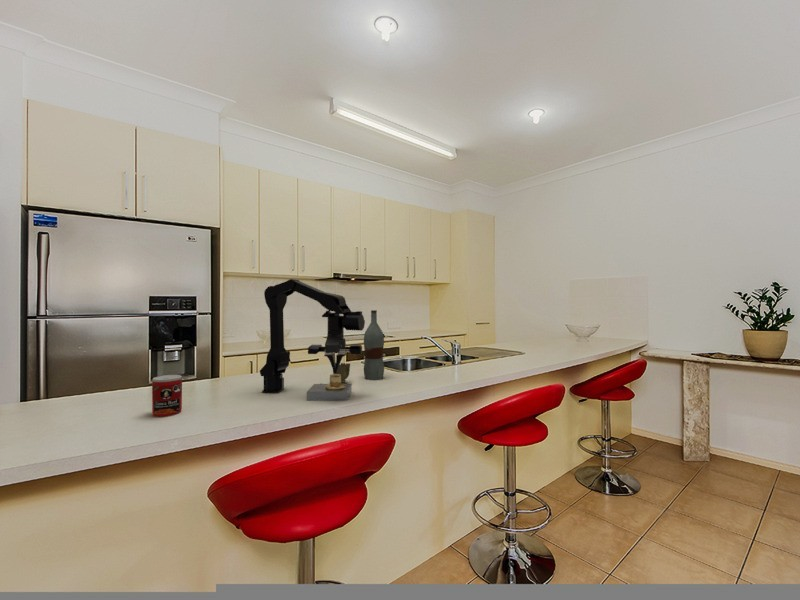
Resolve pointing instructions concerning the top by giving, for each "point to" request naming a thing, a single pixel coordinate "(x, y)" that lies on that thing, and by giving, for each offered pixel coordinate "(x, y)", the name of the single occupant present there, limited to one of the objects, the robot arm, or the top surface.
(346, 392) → the block
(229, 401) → the top surface
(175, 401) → the canned food
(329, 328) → the robot arm
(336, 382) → the brass bushing
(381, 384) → the top surface
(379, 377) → the bottle
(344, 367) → the cup
